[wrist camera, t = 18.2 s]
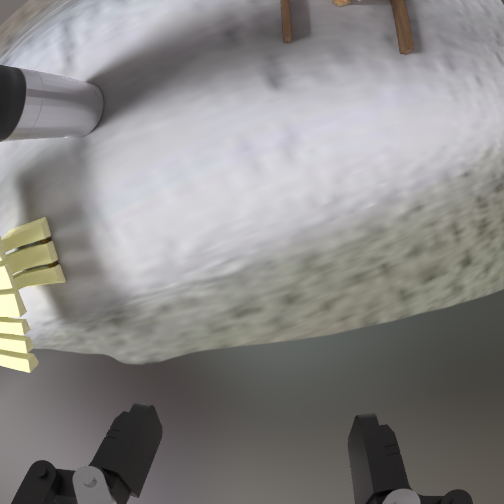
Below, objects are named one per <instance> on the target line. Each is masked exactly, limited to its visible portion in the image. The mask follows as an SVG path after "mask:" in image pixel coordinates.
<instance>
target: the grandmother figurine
mask: <svg viewBox="0 0 504 504" xmlns="http://www.w3.org/2000/svg"><path fill="white" fill-rule="evenodd" d="M357 1H361V0H357ZM333 2H334V4H335V5H337V6H340V7H341V6H345V5H348V4H350V3H351V0H333Z"/></svg>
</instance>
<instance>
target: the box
mask: <svg viewBox="0 0 504 504" xmlns="http://www.w3.org/2000/svg"><path fill="white" fill-rule="evenodd" d="M391 4H392V9H393V14H394V19H395V24H396V30H397V36H398V42H399V49H400V54H405V55H406V54H408V53H409V52H411V51H412V50H414V46H413V40H412V34H411V28H410V23H409V18H408V14H407V9H406V5H405V0H391ZM281 11H282V25H283V40H284V43H291V36H292V33H291V20H290V8H289V0H281Z"/></svg>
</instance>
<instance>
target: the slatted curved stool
mask: <svg viewBox="0 0 504 504" xmlns="http://www.w3.org/2000/svg"><path fill="white" fill-rule="evenodd" d="M50 236H51V233H50V230H49V226H48V222H47V218H46V217H44V218H41V219H38V220H35V221H32V222H30V223H27V224H24V225H22V226H19V227H16V228H14V229H12V230H10V231H9V232H8V233H7V234H6V235H5V236H4V237H3V238H1V237H0V365H1V366H5V367H8V368H12V369H16V370H21V371H25V372H31V371H32V370H33V369H34V368H35V367H36V366H37V365H38V361H37V359H36V357H35V355H34V354H30V353H28V352H29V351H30V350H31V349H32V348H33V347H34V345H33V343H32V341H31V339H30V337H25V336H18V335H25V334H26V333H27V332H28V331H29V330H30V327H29V325H28V323H27V321H26V319H13V318H8V317H21V316H22V315H23V314H25V313H26V312H27V311H26V308H25V306H24V304H23V301H22V299H21V296H20V294H19V291H18V290H19V289H21V288H23V287H32V286H40V285H48V284H56V283H64V282H66V280H65V277H64V275H63V272H62V269H61V266H60V264H57V260H58V257H57V254H56V250H55V247H54V244H53V241H50V238H49V237H50ZM39 240H40V242H41V244H38V245H35V246H31V247H27V248H24V249H20V250H17V251H14V252H12V253H9V254H7V255H6V254H5V252H7V251H9V250H12V249H14V248H17V247H20V246H23V245H26V244H29V243H32V242H36V241H39ZM45 264H48V266H47V267H41V268H36V269H31V270H26V271H22V272H19V273H17V274H14V273H16V272H18V271H21V270H24V269H28V268H32V267H36V266H40V265H45ZM12 274H14V275H12ZM14 334H17V335H14Z"/></svg>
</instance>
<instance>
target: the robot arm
mask: <svg viewBox="0 0 504 504" xmlns="http://www.w3.org/2000/svg"><path fill="white" fill-rule="evenodd" d="M103 105H104V102H103V96H102V93H101V91H100V89H99V88H98V87H97V86H95V85H93V84H90V83H86V82H83V81H79V80H75V79H71V78H66V77H62V76H58V75H53V74H48V73H43V72H38V71H33V70H27V69H21V68H15V67H8V66H3V65H0V142H2V141H12V140H23V139H38V138H61V137H62V138H64V137H82V136H85V135H87V134H89V133H90V132H91V131H92V130H93V129H94V128H95V127H96V126H97V124H98V122H99V121H100V118H101V116H102V112H103ZM161 439H162V425H161V423H160V420H159V418H158V415H157V412H156V410H155V407H154V406H153V405H149V404H144V403H138V402H136V403H134V404H133V406H132V408H131V410H130V412H125V411H124V412H122V413H121V414H120V415H119V416H118V417H117V418H115V420H114V421H113V423H112V425H111V427H110V430H109V431H108V432H107V434H106V437H105V438H104V440H103V441H102V443H101V445H100V447H99V449H98V451H97V453H96V455H95V456H94V458H93V460H92V462H91V463H90V464H89V465H88V466H84V467H81V468H79V469H78V470H77V471H71V470H62V469H56V468H55V467H54V466H53V465H52V464H51V463H50V462H48V461H45V460H40V461H37V462H35V463H33V464H32V466H31V467H30V469H29V471H28V472H27V474H26V476H25V478H24V480H23V481H22V483H21V486H20V487H19V489H18V491H17V493H16V495H15V497H14V499H13V501H12V503H11V504H128V499H129V497H130V495H131V496H134V497H137V498H139V496H140V493H141V491H142V488H143V485H144V483H145V480H146V478H147V475H148V472H149V469H150V467H151V464H152V462H153V459H154V457H155V454H156V452H157V449H158V446H159V444H160V441H161ZM348 454H349V460H350V468H351V475H352V482H353V490H354V499H355V504H473V502H472V499H471V496H470V495H469V494H468V493H467V492H466V491H464V490H459V489H457V490H452V491H450V492H448V493H447V494H446V495H445V496H422V495H419V494H417V493H415V492H414V491H413V490H412V489H411V488H410V486H409V483H408V479H407V475H406V472H405V468H404V464H403V460H402V457H401V454H400V450H399V446H398V443H397V440H396V436H395V433H394V432H393V431H392V430H391V428H390V427H389V426H388V425H379V423H378V420H377V416H376V415H375V414H364V415H356V417H355V419H354V422H353V426H352V428H351V431H350V434H349V437H348Z"/></svg>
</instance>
